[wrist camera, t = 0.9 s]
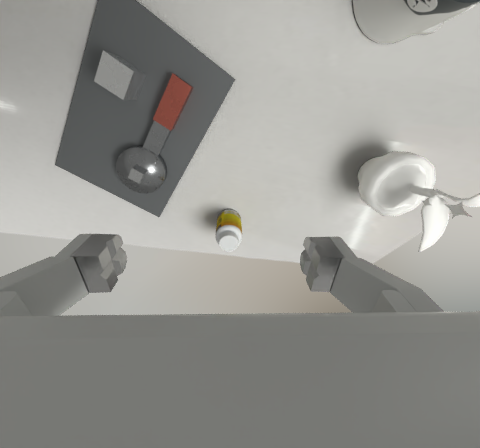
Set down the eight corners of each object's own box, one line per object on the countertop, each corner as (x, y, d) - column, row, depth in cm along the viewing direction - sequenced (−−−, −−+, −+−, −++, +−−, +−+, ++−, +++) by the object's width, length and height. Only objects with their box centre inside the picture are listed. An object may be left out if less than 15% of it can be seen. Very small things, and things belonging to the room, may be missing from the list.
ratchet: (160, 62, 36) (150, 58, 32) (207, 97, 39) (205, 98, 35) (115, 174, 45) (103, 182, 41) (156, 196, 48) (149, 206, 44)
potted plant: (364, 136, 44) (493, 176, 22) (411, 154, 46) (570, 205, 24) (332, 193, 50) (410, 267, 28) (375, 206, 52) (478, 284, 30)
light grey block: (119, 56, 36) (102, 50, 31) (146, 74, 37) (133, 71, 32) (111, 83, 37) (93, 81, 33) (136, 99, 39) (123, 100, 34)
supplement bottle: (219, 206, 50) (217, 230, 42) (242, 210, 51) (245, 234, 42) (215, 226, 53) (212, 253, 44) (238, 230, 54) (239, 256, 45)
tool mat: (106, -23, 31) (104, -25, 31) (234, 79, 38) (235, 79, 38) (57, 164, 44) (55, 164, 44) (159, 215, 51) (159, 217, 51)
